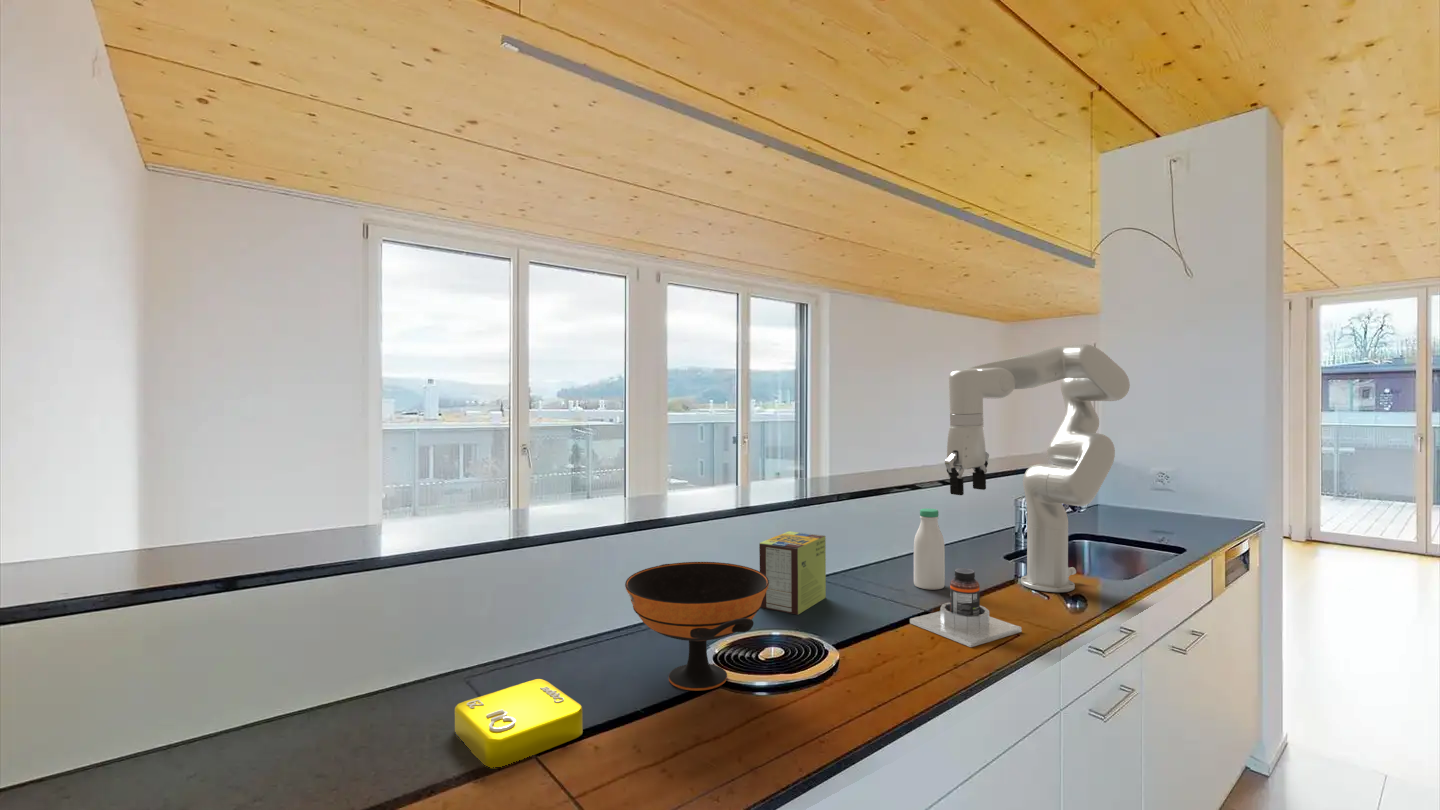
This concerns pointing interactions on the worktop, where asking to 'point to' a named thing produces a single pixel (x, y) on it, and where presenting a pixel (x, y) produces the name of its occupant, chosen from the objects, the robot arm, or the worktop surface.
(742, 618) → the greek kylix
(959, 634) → the duct flange
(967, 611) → the supplement bottle
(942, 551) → the milk bottle
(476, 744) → the element tile
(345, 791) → the worktop surface
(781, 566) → the protein box
